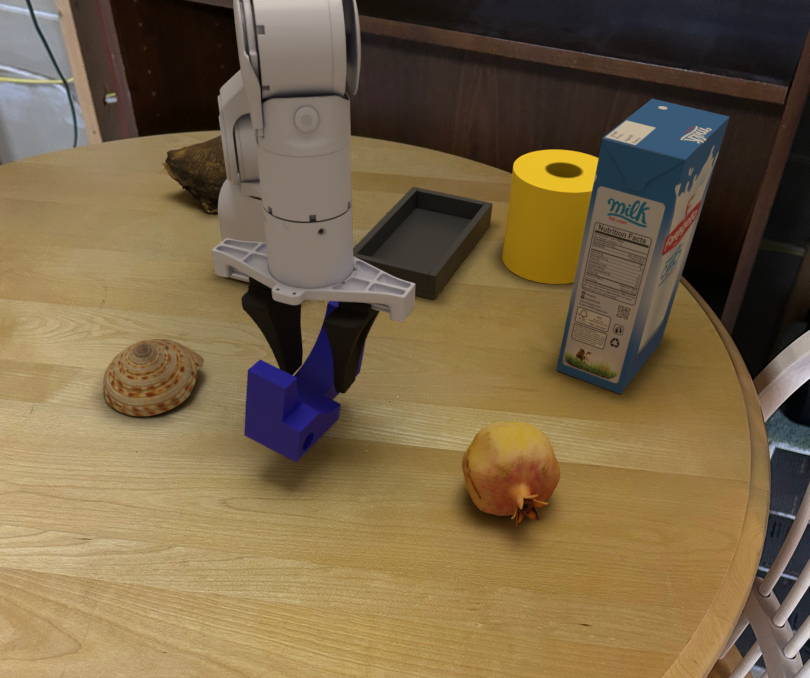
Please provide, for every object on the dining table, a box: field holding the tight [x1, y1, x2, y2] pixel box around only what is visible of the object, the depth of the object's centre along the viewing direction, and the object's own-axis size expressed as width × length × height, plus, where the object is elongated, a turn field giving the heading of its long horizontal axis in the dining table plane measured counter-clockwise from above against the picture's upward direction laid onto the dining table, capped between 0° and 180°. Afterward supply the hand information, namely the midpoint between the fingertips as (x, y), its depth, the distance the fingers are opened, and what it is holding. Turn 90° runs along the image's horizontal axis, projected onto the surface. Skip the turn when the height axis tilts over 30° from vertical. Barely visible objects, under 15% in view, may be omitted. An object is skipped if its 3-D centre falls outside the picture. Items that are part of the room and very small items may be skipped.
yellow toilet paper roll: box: [501, 149, 599, 285], centre depth 82 cm, size 10×10×9 cm
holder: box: [353, 186, 493, 301], centre depth 86 cm, size 10×18×3 cm, turn 157°
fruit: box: [461, 421, 561, 527], centre depth 58 cm, size 7×7×10 cm
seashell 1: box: [102, 338, 205, 417], centre depth 68 cm, size 8×6×8 cm
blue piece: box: [243, 301, 366, 464], centre depth 60 cm, size 12×4×6 cm, turn 153°
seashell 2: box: [161, 131, 239, 214], centre depth 92 cm, size 16×9×7 cm, turn 111°
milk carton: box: [555, 98, 731, 395], centre depth 67 cm, size 10×6×20 cm, turn 147°
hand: (318, 378), depth 61 cm, fingers closed on blue piece, 4 cm apart
